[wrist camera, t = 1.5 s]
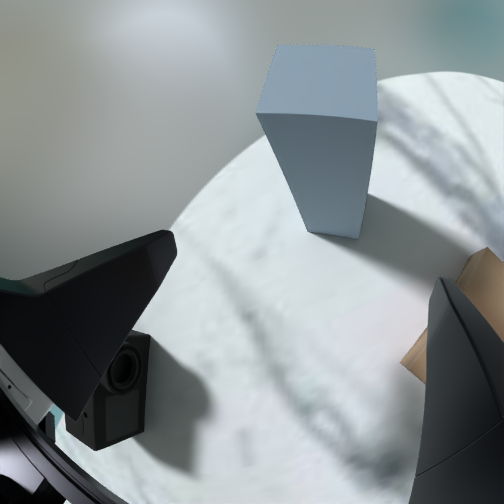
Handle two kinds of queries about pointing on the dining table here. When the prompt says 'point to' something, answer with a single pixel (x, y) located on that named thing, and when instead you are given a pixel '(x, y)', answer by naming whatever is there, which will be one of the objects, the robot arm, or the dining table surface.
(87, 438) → the digital camera
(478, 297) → the walnut block
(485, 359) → the robot arm
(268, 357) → the dining table surface
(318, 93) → the slate pillar
